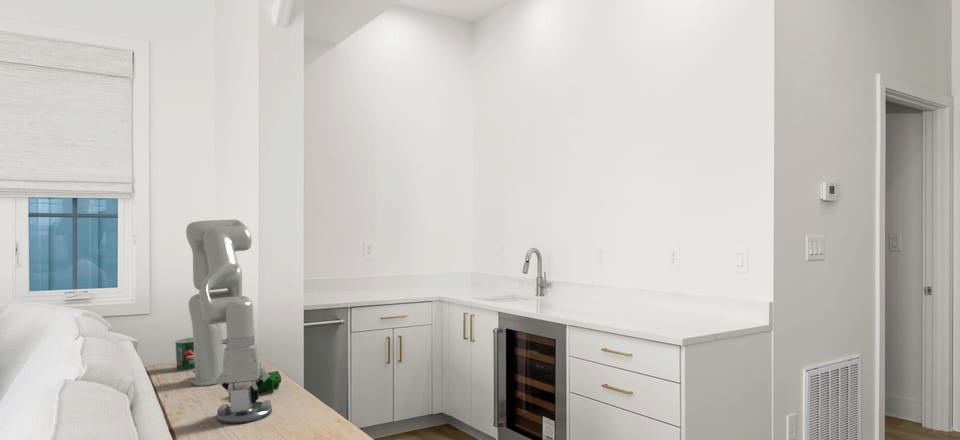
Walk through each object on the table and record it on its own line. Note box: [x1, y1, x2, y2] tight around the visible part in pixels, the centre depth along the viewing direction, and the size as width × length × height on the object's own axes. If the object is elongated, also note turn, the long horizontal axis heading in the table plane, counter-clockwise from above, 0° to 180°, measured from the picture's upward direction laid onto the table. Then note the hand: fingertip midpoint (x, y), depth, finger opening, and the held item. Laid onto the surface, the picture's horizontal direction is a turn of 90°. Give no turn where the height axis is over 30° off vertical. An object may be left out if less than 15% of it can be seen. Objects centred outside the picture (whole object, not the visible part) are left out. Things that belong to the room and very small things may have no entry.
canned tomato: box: [175, 337, 195, 372], centre depth 238 cm, size 8×8×11 cm
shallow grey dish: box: [216, 399, 273, 425], centre depth 181 cm, size 15×15×3 cm
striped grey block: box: [229, 382, 253, 412], centre depth 180 cm, size 5×10×6 cm, turn 8°
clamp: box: [258, 370, 282, 394], centre depth 202 cm, size 12×6×9 cm, turn 115°
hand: (244, 402), depth 181 cm, fingers closed on striped grey block, 5 cm apart
